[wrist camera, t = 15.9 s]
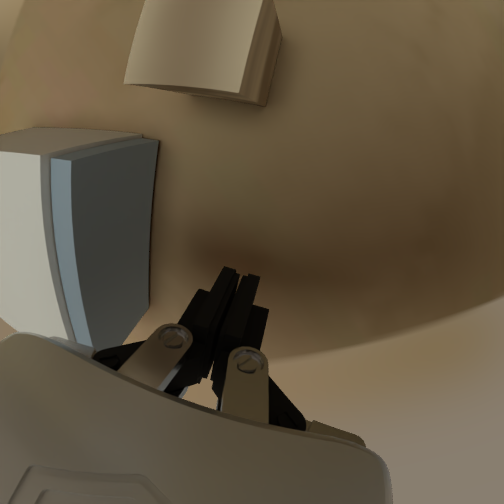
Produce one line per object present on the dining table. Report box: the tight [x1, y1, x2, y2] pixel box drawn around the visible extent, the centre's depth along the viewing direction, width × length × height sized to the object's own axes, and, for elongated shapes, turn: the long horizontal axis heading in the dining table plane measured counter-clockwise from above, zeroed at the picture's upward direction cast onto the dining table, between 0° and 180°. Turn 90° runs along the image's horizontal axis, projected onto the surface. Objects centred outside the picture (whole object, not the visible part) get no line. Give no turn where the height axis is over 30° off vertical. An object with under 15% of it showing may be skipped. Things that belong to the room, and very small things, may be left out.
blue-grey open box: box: [51, 138, 159, 351], centre depth 13 cm, size 11×12×7 cm
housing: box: [0, 128, 142, 342], centre depth 13 cm, size 11×12×8 cm
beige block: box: [124, 0, 282, 107], centre depth 9 cm, size 4×4×6 cm
